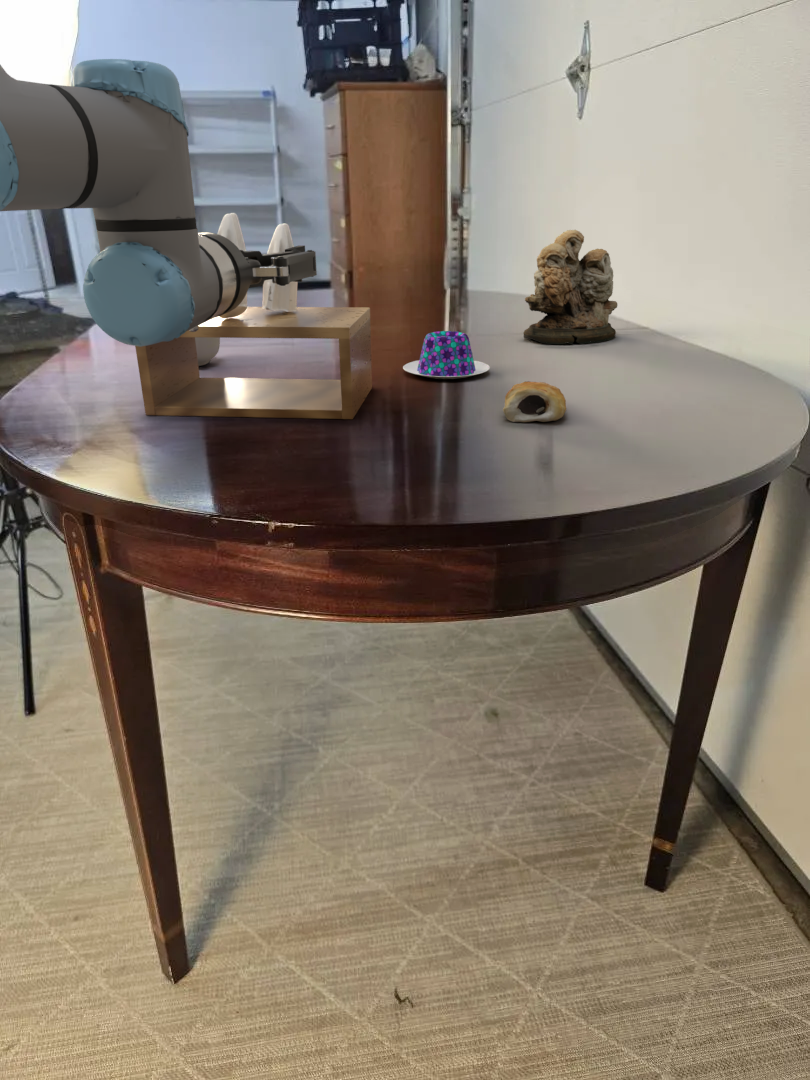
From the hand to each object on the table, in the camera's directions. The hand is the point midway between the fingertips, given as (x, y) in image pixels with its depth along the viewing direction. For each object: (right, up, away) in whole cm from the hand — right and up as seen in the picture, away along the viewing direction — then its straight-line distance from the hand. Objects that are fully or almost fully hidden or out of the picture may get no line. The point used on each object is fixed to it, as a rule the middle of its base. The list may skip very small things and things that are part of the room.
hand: (265, 257), depth 91 cm
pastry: (+31, -19, -4) cm, 37 cm away
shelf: (0, -17, +2) cm, 17 cm away
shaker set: (-1, -8, -2) cm, 8 cm away
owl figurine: (+44, +1, +39) cm, 59 cm away
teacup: (-15, -8, +21) cm, 28 cm away
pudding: (+22, -10, +16) cm, 29 cm away
